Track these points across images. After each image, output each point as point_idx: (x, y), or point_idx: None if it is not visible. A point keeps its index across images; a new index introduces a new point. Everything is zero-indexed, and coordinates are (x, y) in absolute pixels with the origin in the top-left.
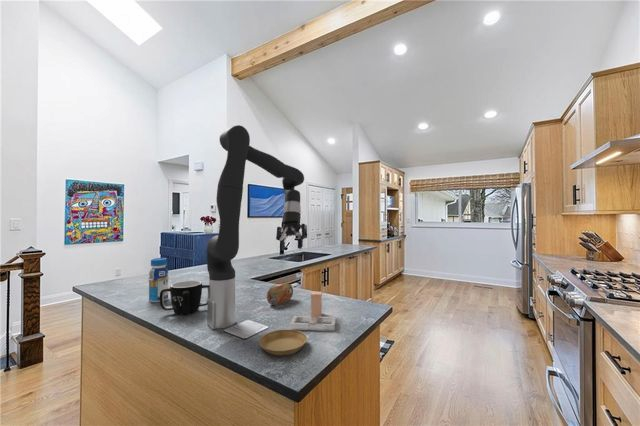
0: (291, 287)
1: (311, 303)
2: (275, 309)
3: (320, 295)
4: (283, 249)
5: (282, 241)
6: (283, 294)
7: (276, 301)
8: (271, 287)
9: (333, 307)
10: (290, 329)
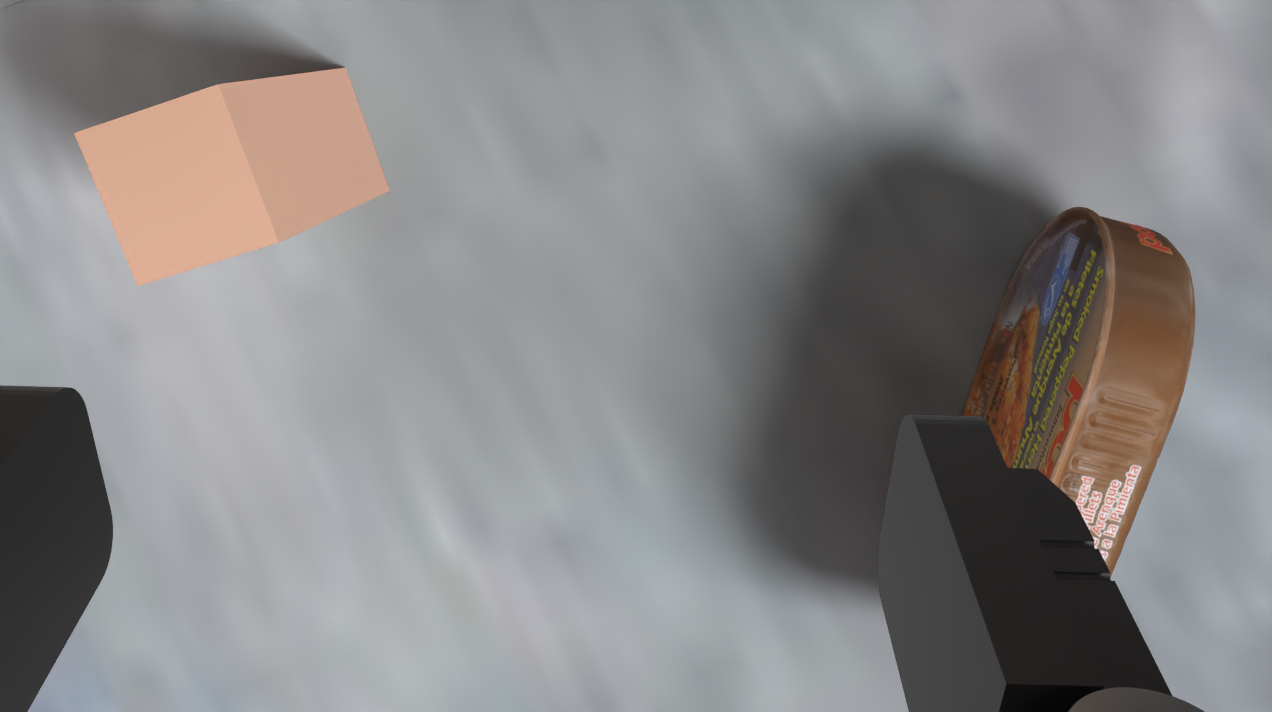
0: None
1: (271, 78)
2: (929, 139)
3: (87, 129)
4: (889, 513)
5: (994, 694)
6: None
7: (1020, 329)
8: (1170, 375)
9: (244, 478)
10: None
